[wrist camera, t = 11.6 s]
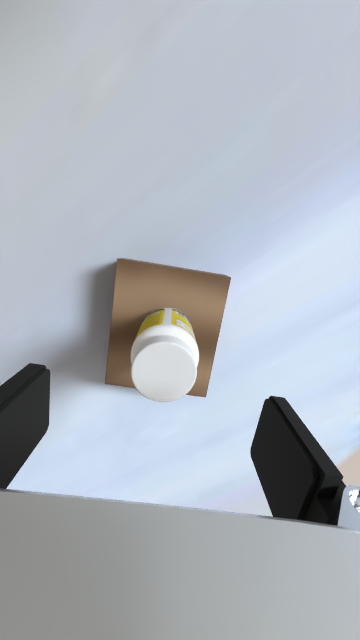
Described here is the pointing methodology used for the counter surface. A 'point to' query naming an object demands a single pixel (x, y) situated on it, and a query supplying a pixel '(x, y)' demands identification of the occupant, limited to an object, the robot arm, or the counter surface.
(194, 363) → the supplement bottle
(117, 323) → the walnut base
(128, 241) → the counter surface
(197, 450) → the counter surface
